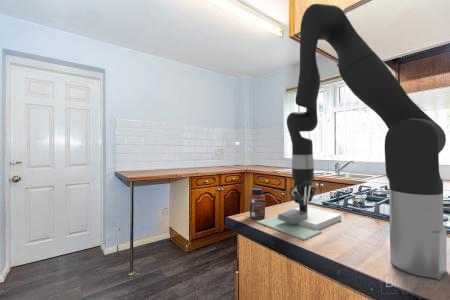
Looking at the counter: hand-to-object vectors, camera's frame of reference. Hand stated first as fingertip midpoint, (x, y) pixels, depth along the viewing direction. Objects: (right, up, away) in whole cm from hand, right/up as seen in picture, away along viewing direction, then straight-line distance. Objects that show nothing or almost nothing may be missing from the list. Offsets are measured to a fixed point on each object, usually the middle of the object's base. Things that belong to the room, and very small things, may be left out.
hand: (303, 214), depth 83 cm
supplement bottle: (-16, -3, +6) cm, 17 cm away
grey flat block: (-5, -1, -3) cm, 6 cm away
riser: (+3, -3, +2) cm, 4 cm away
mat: (-8, -3, -5) cm, 10 cm away
